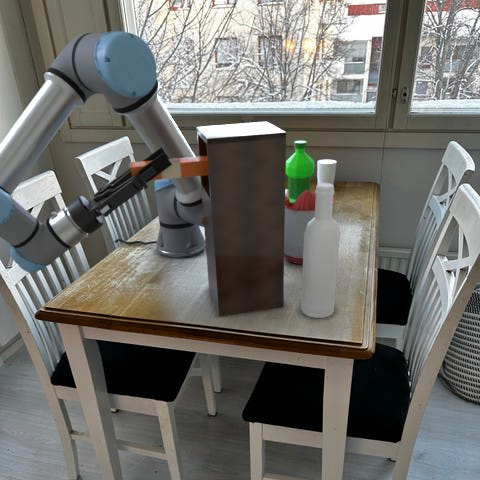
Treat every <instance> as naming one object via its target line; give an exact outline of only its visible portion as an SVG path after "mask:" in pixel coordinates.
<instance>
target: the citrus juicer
mask: <svg viewBox="0 0 480 480" xmlns="http://www.w3.org/2000/svg"><path fill="white" fill-rule="evenodd" d="M315 203H316V194H315V192H311V190H310V191H308V190H305V191H304V192H303V193H302V194H301V195H300V196H299V197H298V198H297V199H296V201H295V202H293V203H292V202H290V199H289V198H288V197H287V196H285V235H284V259H286V261H289V262H290V263H294V264H297V265H303V253H304V233H305V230H306V227H307V225H308V222H310V221H311V220H312V219H313V218H314V217H315ZM335 203H336V200H335V199H334V198H333V207H332V218H333V219H334V207H335V206H334V205H335Z"/></svg>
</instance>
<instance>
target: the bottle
mask: <svg viewBox="0 0 480 480" xmlns="http://www.w3.org/2000/svg"><path fill="white" fill-rule="evenodd" d="M314 193H315V194H316V203H315V217H314V218H313V219H312V220H311V221H310V222H308V225H307V227H306V230H305V233H304V253H303V264H302V276H301V277H302V278H301V279H302V280H301V282H302V284H301V298H300V299H301V300H300V305H301V306H300V308H301V309H300V310H301V312H302V313H303V314H304V315H305V316H307V317H310V318H314V319H324V318H328V317H330V316H331V315H333V314H334V312H335V304H336V289H337V278H338V277H337V276H338V266H339V255H340V241H341V230H340V226H339V223H338V222H337V221H336V220H335V219H334V217H333V218H332V207H333V199H334V195H335V185H332V184H330V183H320V184H318V183H317V184H316V187H315V191H314ZM333 208H334V207H333Z"/></svg>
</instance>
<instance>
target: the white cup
mask: <svg viewBox="0 0 480 480" xmlns="http://www.w3.org/2000/svg"><path fill="white" fill-rule="evenodd" d="M337 163H338V162H337V160H335V159H329V158H327V159H319V160H317V167H316V168H317V173H316V174H317V185H318V184H320V183H330V184H332V185H333V186H335V185H334V183H335V177H336V171H337Z"/></svg>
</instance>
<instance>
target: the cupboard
mask: <svg viewBox="0 0 480 480" xmlns="http://www.w3.org/2000/svg"><path fill="white" fill-rule="evenodd" d="M196 138H197V139H196V140H197V152H198V153H197V154H198V156H207V159H208V173H209V175H204V176H200V179H201V192H202V204H203V217H201V218H200V219H201V224H202V225H204V227H203V228H204V239H205V245H206V247H205V253H206V254H205V255H206V267H207V279H208V290H209V293H210V296H211V298H212V302H213V304H214V306H215V307H214V308H215V309H216V313H217V315H218V317H224V316H231V315H238V314H244V313H252V312H259V311H265V310H272V309H278V308H284V285H285V282H284V281H285V256H284V235H285V189H286V177H287V174H286V161H287V132H286V131H285V130H283V129H281V128H279V127H277V126H276V125H274V124H272V123H270V122H268V121H257V122H244V123H231V124H217V125H205V126H196Z"/></svg>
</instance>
